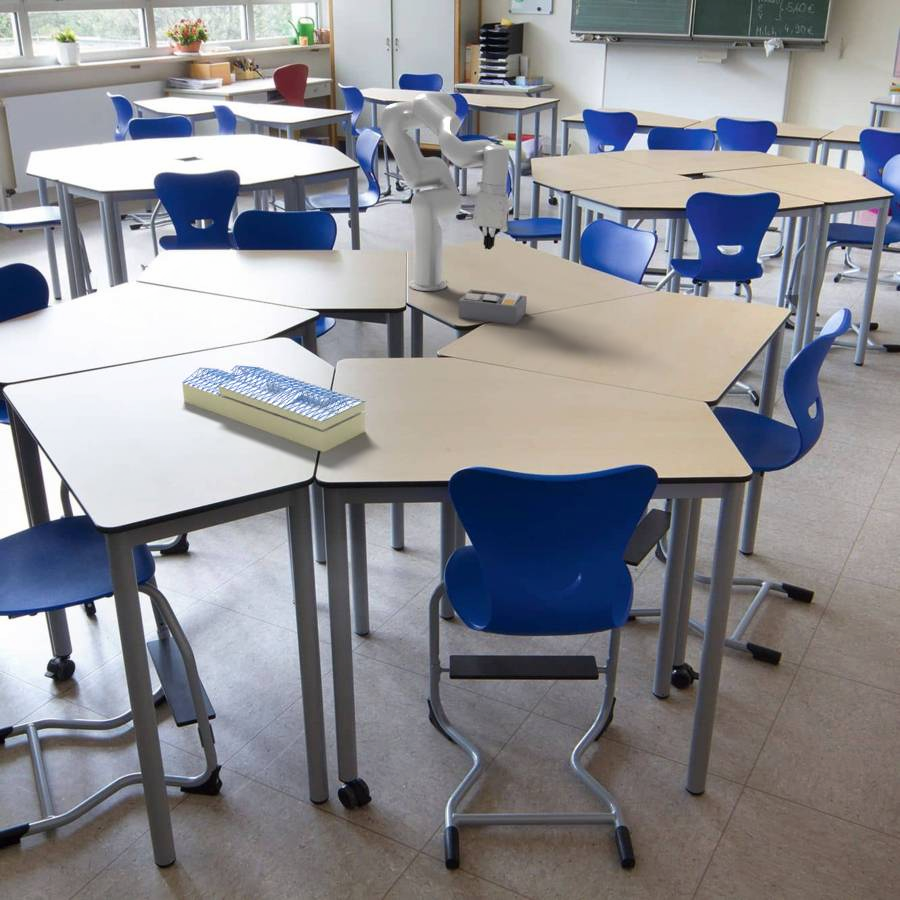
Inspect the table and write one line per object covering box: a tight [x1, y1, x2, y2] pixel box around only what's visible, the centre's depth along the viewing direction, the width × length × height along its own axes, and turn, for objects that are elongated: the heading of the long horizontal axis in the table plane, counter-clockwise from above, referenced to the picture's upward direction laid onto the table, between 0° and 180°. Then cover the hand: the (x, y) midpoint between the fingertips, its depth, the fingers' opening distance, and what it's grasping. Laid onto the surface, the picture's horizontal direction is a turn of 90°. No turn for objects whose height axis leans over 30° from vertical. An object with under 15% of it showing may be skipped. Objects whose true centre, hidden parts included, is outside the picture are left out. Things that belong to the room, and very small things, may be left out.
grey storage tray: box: [458, 289, 528, 326], centre depth 300 cm, size 12×18×6 cm, turn 72°
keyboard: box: [181, 365, 367, 453], centre depth 227 cm, size 45×15×10 cm, turn 54°
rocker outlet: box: [501, 291, 521, 305], centre depth 297 cm, size 8×4×2 cm, turn 161°
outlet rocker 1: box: [465, 292, 484, 301], centre depth 300 cm, size 8×4×2 cm, turn 162°
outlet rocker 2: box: [483, 294, 501, 303], centre depth 299 cm, size 8×4×2 cm, turn 162°
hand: (488, 248), depth 302 cm, fingers closed
